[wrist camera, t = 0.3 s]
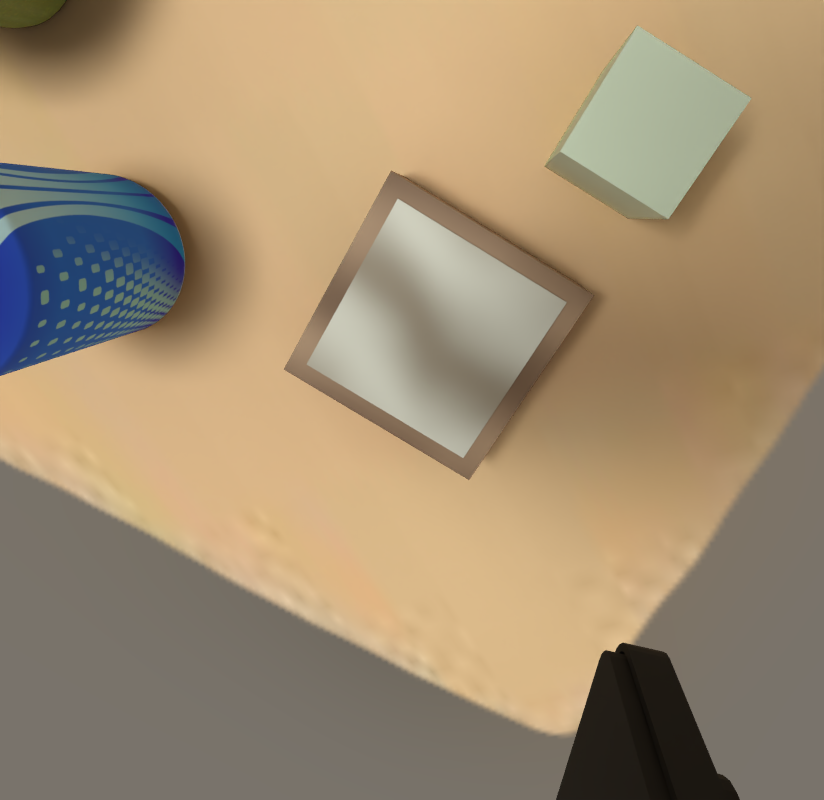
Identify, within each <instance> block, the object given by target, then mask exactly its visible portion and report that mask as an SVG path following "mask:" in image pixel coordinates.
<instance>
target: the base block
mask: <svg viewBox="0 0 824 800" xmlns="http://www.w3.org/2000/svg"><path fill="white" fill-rule="evenodd" d="M593 296H594V295H592V294H591V293H590V292H589V291H587V290H586V289H585V288H583V287H582V286H580V285H579V284H577V283H576V282H574V281H572V280H571V279H569V278H568V277H566V276H564V275H563V274H561V273H559V272H558V271H556V270H555V269H553V268H551V267H550V266H548V265H546V264H545V263H543V262H542V261H540V260H538V259H537V258H535V257H533V256H532V255H530V254H529V253H527V252H525V251H524V250H522V249H520V248H519V247H517V246H516V245H514V244H512V243H511V242H509V241H507V240H506V239H504V238H503V237H501V236H499V235H498V234H496V233H495V232H493V231H491V230H490V229H488V228H486V227H485V226H483V225H482V224H480V223H478V222H477V221H475V220H473V219H472V218H470V217H469V216H467V215H465V214H464V213H462V212H460V211H459V210H457V209H456V208H454V207H452V206H451V205H449V204H447V203H446V202H444V201H443V200H441V199H439V198H438V197H436V196H434V195H433V194H431V193H430V192H428V191H426V190H425V189H423V188H422V187H420V186H418V185H417V184H415V183H413V182H412V181H410V180H409V179H407V178H405V177H404V176H402V175H400V174H397V173H395V172H393V171H391V172H390V174H389V176H388V177H387V179H386V181H385V183H384V185H383V187H382V189H381V190H380V192H379V194H378V196H377V198H376V200H375V201H374V203H373V205H372V207H371V209H370V211H369V213H368V214H367V216H366V218H365V220H364V222H363V224H362V226H361V227H360V229H359V231H358V233H357V235H356V237H355V238H354V240H353V242H352V244H351V246H350V248H349V250H348V251H347V253H346V255H345V257H344V259H343V261H342V263H341V264H340V266H339V268H338V270H337V272H336V274H335V275H334V277H333V279H332V281H331V283H330V285H329V287H328V288H327V290H326V292H325V294H324V296H323V298H322V300H321V301H320V303H319V305H318V307H317V309H316V311H315V312H314V314H313V316H312V318H311V320H310V322H309V324H308V325H307V327H306V329H305V331H304V333H303V335H302V337H301V338H300V340H299V342H298V344H297V346H296V348H295V349H294V351H293V353H292V355H291V357H290V359H289V361H288V362H287V364H286V366H285V368H284V370H286V371H287V372H289V373H291V374H292V375H294V376H296V377H297V378H299V379H301V380H303V381H304V382H306V383H308V384H309V385H311V386H313V387H314V388H316V389H318V390H319V391H321V392H323V393H324V394H326V395H328V396H329V397H331V398H333V399H334V400H336V401H338V402H339V403H341V404H343V405H344V406H346V407H348V408H349V409H351V410H353V411H354V412H356V413H358V414H359V415H361V416H363V417H364V418H366V419H368V420H369V421H371V422H373V423H374V424H376V425H378V426H380V427H381V428H383V429H385V430H386V431H388V432H390V433H391V434H393V435H395V436H396V437H398V438H400V439H401V440H403V441H405V442H406V443H408V444H410V445H411V446H413V447H415V448H416V449H418V450H420V451H421V452H423V453H425V454H426V455H428V456H430V457H431V458H433V459H435V460H436V461H438V462H440V463H441V464H443V465H445V466H446V467H448V468H450V469H451V470H453V471H455V472H456V473H458V474H460V475H462V476H463V477H465V478H467V479H468V480H469V479H470V478H471V476H472V475H473V473H474V472H475V471H476V469H477V468H478V466H479V465H480V463H481V462H482V460H483V459H484V457H485V456H486V454H487V453H488V451H489V450H490V448H491V447H492V445H493V444H494V442H495V441H496V439H497V438H498V437H499V435H500V434H501V432H502V431H503V429H504V428H505V426H506V425H507V423H508V422H509V420H510V419H511V417H512V416H513V414H514V413H515V411H516V410H517V408H518V407H519V405H520V404H521V403H522V401H523V400H524V398H525V397H526V395H527V394H528V392H529V391H530V389H531V388H532V386H533V385H534V383H535V382H536V380H537V379H538V377H539V376H540V374H541V373H542V372H543V370H544V369H545V367H546V366H547V364H548V363H549V361H550V360H551V358H552V357H553V355H554V354H555V352H556V351H557V349H558V348H559V346H560V345H561V343H562V342H563V340H564V339H565V338H566V336H567V335H568V333H569V332H570V330H571V329H572V327H573V326H574V324H575V323H576V321H577V320H578V318H579V317H580V315H581V314H582V312H583V311H584V309H585V308H586V307H587V305H588V304H589V302H590V301H591V299H592V298H593Z"/></svg>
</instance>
